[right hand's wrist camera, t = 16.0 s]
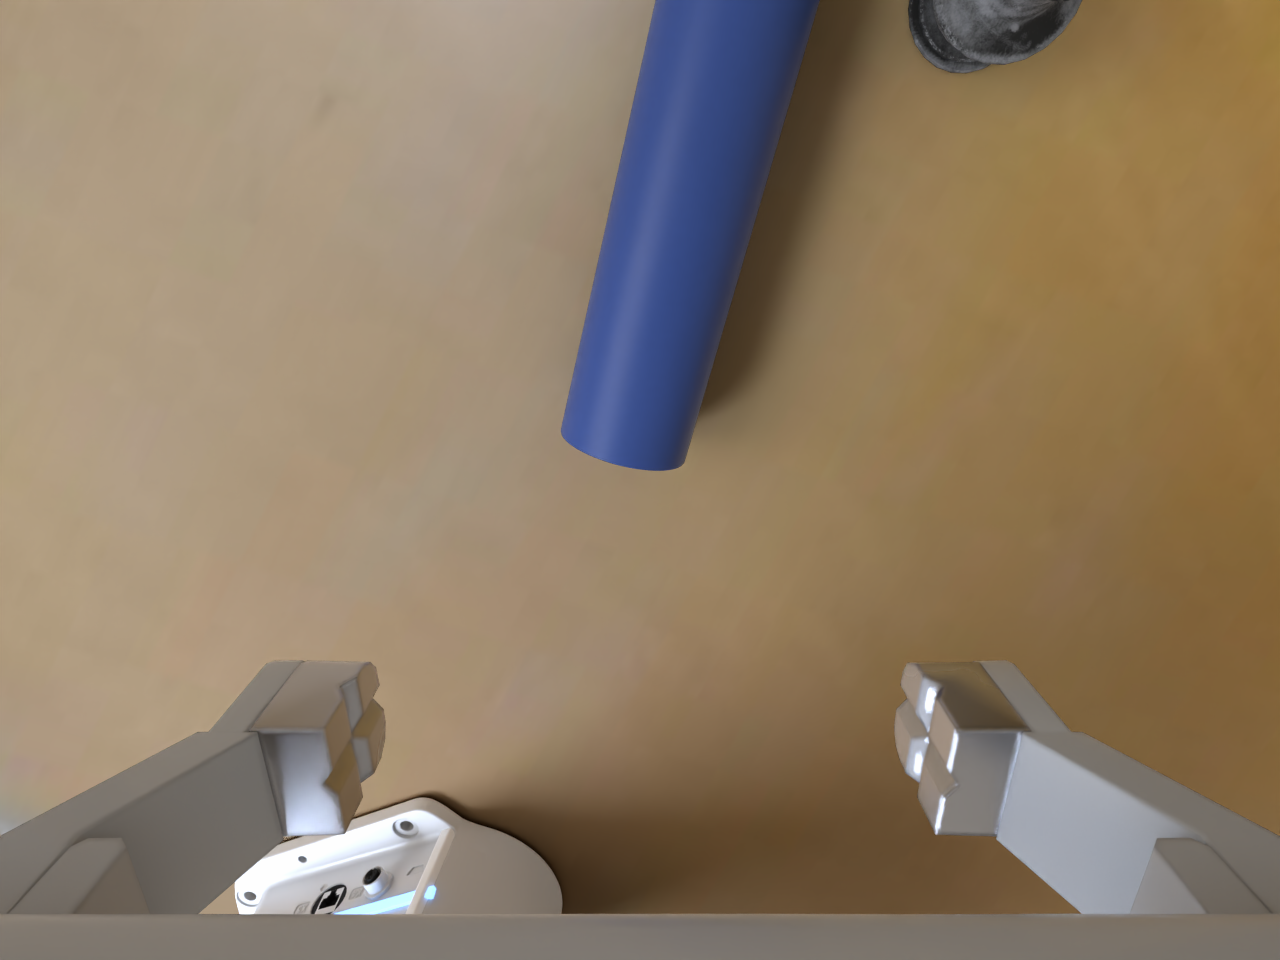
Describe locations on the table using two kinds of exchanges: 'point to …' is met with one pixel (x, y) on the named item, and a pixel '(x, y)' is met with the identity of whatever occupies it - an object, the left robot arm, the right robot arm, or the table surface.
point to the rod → (681, 221)
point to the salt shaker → (986, 30)
